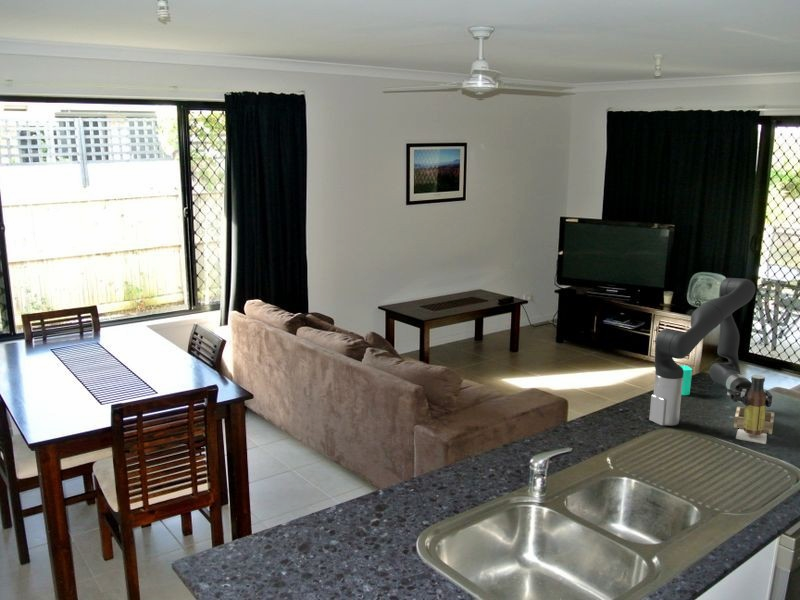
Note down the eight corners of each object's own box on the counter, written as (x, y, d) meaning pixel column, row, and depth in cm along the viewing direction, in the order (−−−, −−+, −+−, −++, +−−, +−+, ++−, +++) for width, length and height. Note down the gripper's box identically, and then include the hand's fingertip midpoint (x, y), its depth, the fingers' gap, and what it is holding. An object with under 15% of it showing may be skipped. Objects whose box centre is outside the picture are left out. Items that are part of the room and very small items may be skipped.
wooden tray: (771, 434, 243) (773, 423, 242) (733, 427, 249) (734, 416, 248) (773, 423, 253) (774, 412, 253) (736, 416, 259) (737, 406, 258)
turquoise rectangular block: (676, 389, 289) (678, 361, 286) (691, 392, 285) (694, 363, 283) (672, 393, 284) (674, 364, 282) (687, 396, 281) (690, 367, 278)
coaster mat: (765, 444, 235) (765, 443, 235) (735, 438, 239) (736, 437, 239) (766, 435, 243) (767, 433, 243) (738, 429, 247) (738, 428, 247)
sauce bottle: (758, 429, 243) (766, 373, 239) (766, 436, 237) (773, 379, 233) (738, 428, 244) (746, 372, 240) (745, 435, 238) (753, 379, 234)
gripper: (720, 376, 252) (737, 392, 236) (762, 378, 251) (782, 394, 234) (718, 396, 254) (734, 413, 237) (760, 398, 252) (779, 415, 236)
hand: (758, 403), depth 236 cm, fingers closed on sauce bottle, 6 cm apart
